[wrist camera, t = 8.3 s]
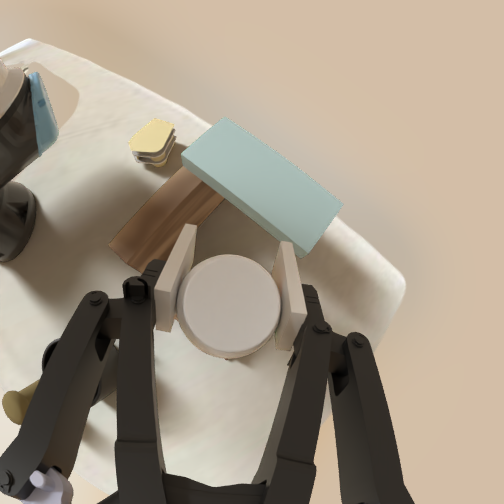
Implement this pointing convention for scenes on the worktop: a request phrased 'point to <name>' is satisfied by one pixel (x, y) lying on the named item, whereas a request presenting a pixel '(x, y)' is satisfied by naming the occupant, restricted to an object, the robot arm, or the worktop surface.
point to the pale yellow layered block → (153, 143)
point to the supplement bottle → (228, 306)
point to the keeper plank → (262, 184)
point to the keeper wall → (165, 219)
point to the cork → (18, 403)
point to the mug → (107, 378)
